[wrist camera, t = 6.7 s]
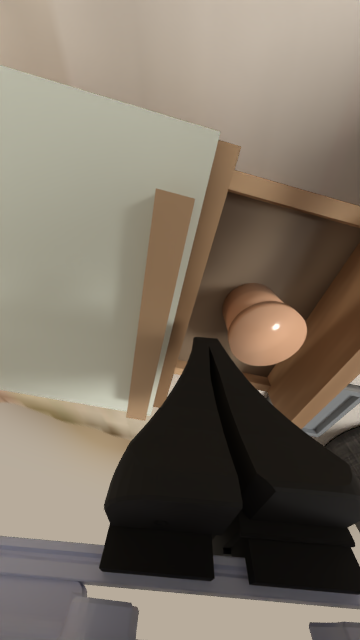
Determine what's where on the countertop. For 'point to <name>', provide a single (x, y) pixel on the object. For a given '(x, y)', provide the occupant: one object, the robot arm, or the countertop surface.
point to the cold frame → (274, 282)
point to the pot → (261, 325)
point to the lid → (92, 240)
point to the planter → (348, 451)
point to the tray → (332, 411)
